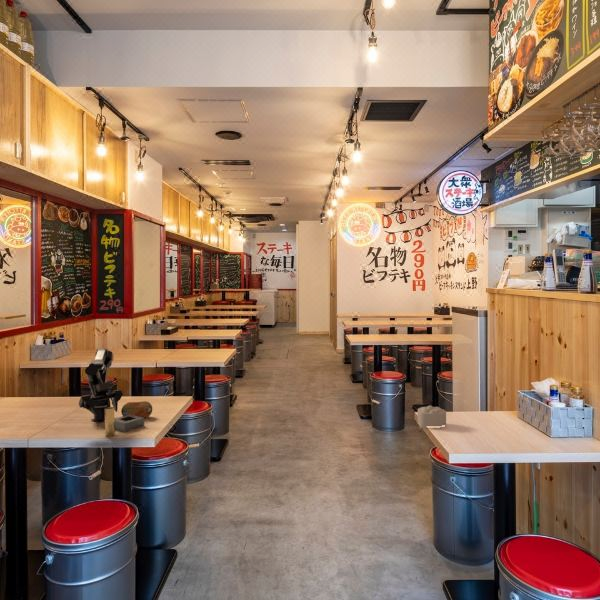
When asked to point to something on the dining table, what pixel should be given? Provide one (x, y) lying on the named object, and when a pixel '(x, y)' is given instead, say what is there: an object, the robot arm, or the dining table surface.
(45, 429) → the dining table surface
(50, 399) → the dining table surface
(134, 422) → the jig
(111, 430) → the bushing
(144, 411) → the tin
